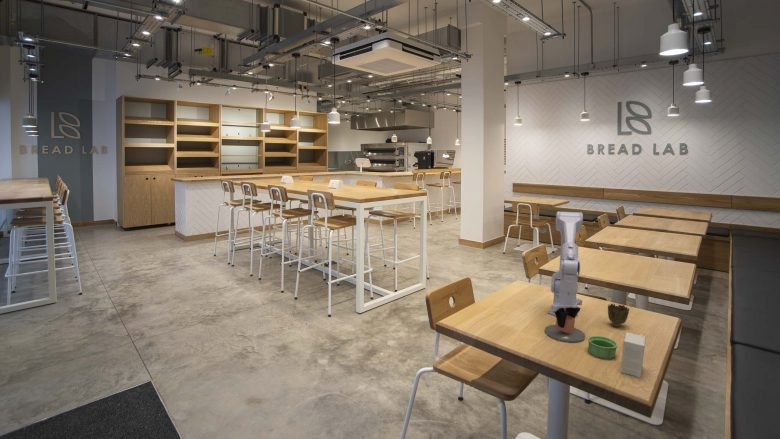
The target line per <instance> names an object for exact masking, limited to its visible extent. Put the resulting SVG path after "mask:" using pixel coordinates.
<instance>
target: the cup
mask: <svg viewBox="0 0 780 439" xmlns="http://www.w3.org/2000/svg"><path fill="white" fill-rule="evenodd" d="M629 313H630V308H628V306H626V305H625V304H624V305H623V304H618V305H616V304H615V303H610V304H608V305H607V317H608V319H609V321H610V322H611V325H612V326H613V327H614V328H621V327H623V324H625V323H626V322H627V320H628V317H629Z"/></svg>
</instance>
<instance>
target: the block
mask: <svg viewBox="0 0 780 439" xmlns="http://www.w3.org/2000/svg"><path fill="white" fill-rule="evenodd" d="M575 319H576V317H575V318H573V317H571V316H568V315H567V317H566V320H565V326H564V328H561V327H559V326H558V322H557V317H556V316H555V325H556V328H557V329H559V330H561V331H563V332H566V333H568V332H572V331H574V328H575V322H576V320H575Z"/></svg>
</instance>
